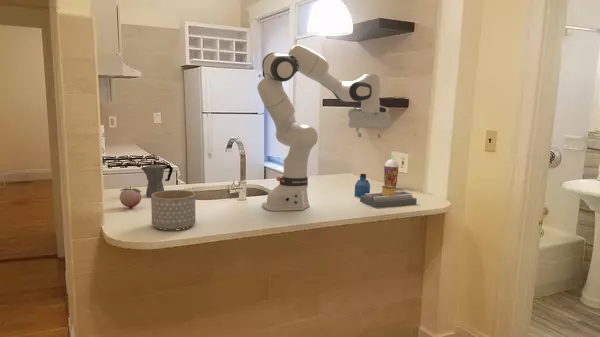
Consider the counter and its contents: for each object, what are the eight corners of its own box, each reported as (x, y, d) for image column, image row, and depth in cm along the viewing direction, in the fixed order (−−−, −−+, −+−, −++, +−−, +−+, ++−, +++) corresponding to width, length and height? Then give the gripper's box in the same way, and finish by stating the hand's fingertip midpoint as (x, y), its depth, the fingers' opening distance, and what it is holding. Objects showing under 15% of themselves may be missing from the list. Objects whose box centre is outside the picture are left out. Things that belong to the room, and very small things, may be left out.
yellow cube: (387, 198, 219) (388, 187, 218) (381, 195, 223) (382, 185, 222) (395, 197, 220) (395, 187, 219) (388, 195, 225) (389, 185, 224)
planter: (160, 234, 163) (159, 200, 161) (146, 223, 176) (145, 192, 174) (202, 228, 172) (202, 195, 170) (186, 218, 185) (185, 188, 183)
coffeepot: (143, 198, 218) (142, 162, 215) (140, 195, 226) (139, 160, 223) (175, 196, 225) (174, 161, 222) (171, 193, 233) (171, 159, 230)
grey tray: (375, 208, 211) (375, 198, 210) (359, 201, 224) (360, 192, 223) (416, 204, 221) (416, 195, 220) (399, 198, 233) (399, 189, 233)
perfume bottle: (354, 196, 236) (355, 174, 234) (358, 194, 241) (359, 172, 239) (365, 198, 233) (366, 175, 231) (369, 195, 238) (370, 173, 236)
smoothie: (379, 187, 261) (381, 154, 258) (391, 186, 265) (393, 153, 262) (388, 190, 254) (390, 155, 251) (400, 189, 258) (402, 155, 255)
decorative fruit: (117, 210, 194) (117, 188, 193) (121, 206, 202) (120, 184, 201) (140, 210, 196) (139, 188, 194) (143, 206, 204) (142, 184, 202)
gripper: (348, 108, 212) (347, 137, 214) (391, 109, 209) (390, 138, 211) (348, 108, 218) (348, 136, 221) (391, 108, 215) (390, 137, 217)
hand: (369, 137), depth 216 cm, fingers open, 8 cm apart
